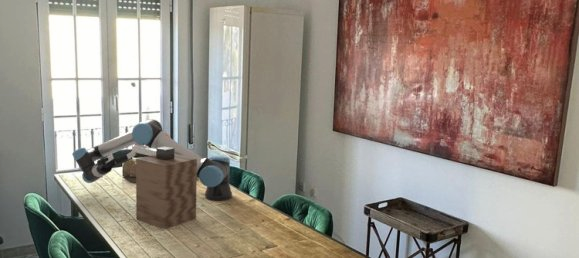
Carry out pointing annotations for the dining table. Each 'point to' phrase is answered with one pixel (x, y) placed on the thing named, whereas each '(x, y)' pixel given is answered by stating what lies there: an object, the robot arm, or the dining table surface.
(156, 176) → the pedestal
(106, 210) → the dining table surface
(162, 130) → the robot arm
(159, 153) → the light grey rectangular bar
